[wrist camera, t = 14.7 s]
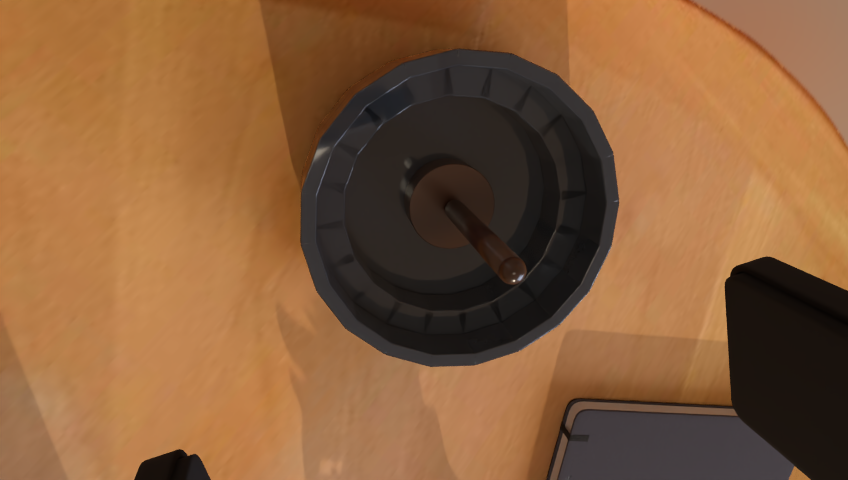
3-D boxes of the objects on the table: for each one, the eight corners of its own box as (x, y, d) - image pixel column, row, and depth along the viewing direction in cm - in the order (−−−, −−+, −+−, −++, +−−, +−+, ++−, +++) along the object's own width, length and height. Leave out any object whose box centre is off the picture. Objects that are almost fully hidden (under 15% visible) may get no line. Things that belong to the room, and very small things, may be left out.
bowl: (262, 93, 33) (252, 101, 27) (549, 19, 34) (596, 12, 29) (347, 353, 39) (354, 404, 33) (588, 278, 40) (634, 314, 35)
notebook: (530, 533, 47) (749, 531, 52) (538, 549, 45) (761, 545, 50) (568, 397, 43) (798, 409, 48) (577, 409, 42) (813, 420, 47)
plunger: (394, 171, 35) (442, 235, 22) (476, 148, 35) (566, 198, 23) (415, 248, 36) (469, 347, 24) (492, 226, 37) (584, 311, 25)
